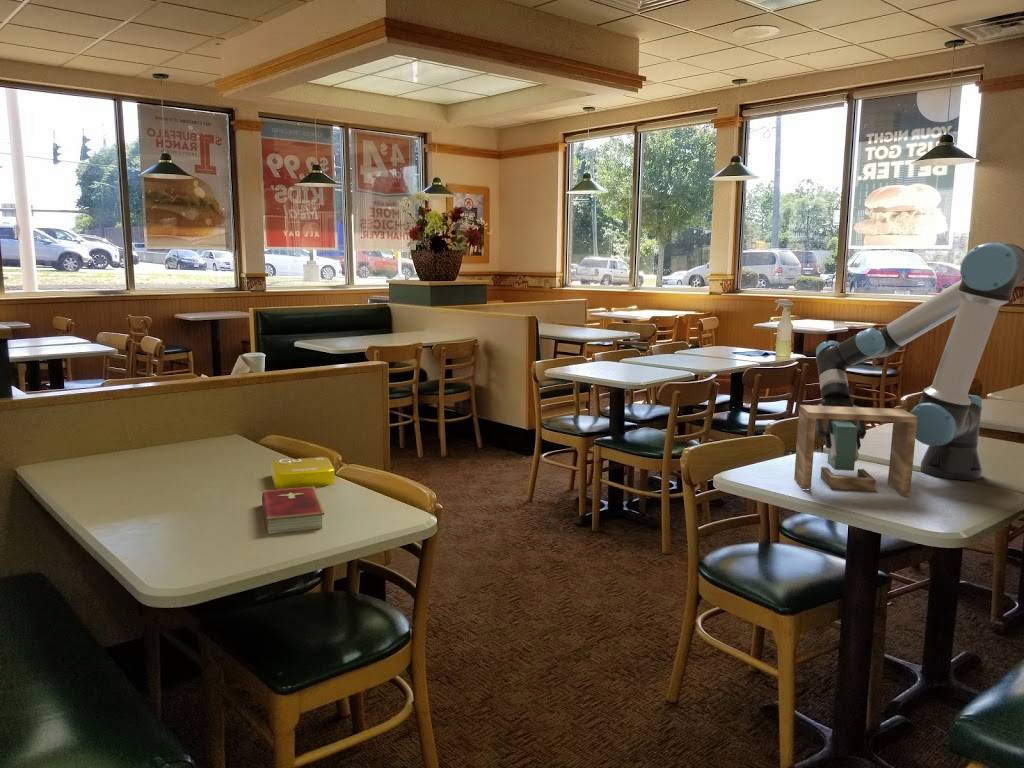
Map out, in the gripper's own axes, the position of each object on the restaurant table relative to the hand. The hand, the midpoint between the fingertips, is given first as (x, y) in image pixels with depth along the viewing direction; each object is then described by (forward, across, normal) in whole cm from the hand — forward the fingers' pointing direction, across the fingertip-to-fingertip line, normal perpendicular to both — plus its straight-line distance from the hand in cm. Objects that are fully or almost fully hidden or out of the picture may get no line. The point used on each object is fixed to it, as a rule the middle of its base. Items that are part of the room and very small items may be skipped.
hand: (845, 458), depth 208 cm
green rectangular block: (0, 0, -5) cm, 5 cm away
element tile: (+25, +142, +16) cm, 145 cm away
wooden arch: (+8, 0, -1) cm, 8 cm away
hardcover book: (+46, +132, +36) cm, 144 cm away
